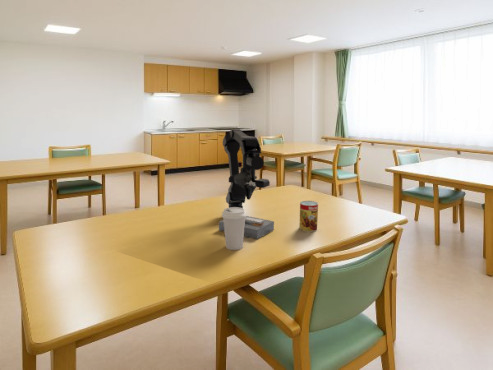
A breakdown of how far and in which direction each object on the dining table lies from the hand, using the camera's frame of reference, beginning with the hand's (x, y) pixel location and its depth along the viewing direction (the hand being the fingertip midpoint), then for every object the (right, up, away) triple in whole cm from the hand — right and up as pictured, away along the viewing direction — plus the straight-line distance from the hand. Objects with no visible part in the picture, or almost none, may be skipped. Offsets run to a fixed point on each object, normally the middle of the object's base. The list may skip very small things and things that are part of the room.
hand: (248, 199), depth 166 cm
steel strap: (-1, -9, -5) cm, 10 cm away
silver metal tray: (-1, -14, -4) cm, 14 cm away
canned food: (+27, -13, -2) cm, 30 cm away
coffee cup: (-6, -18, -23) cm, 29 cm away
